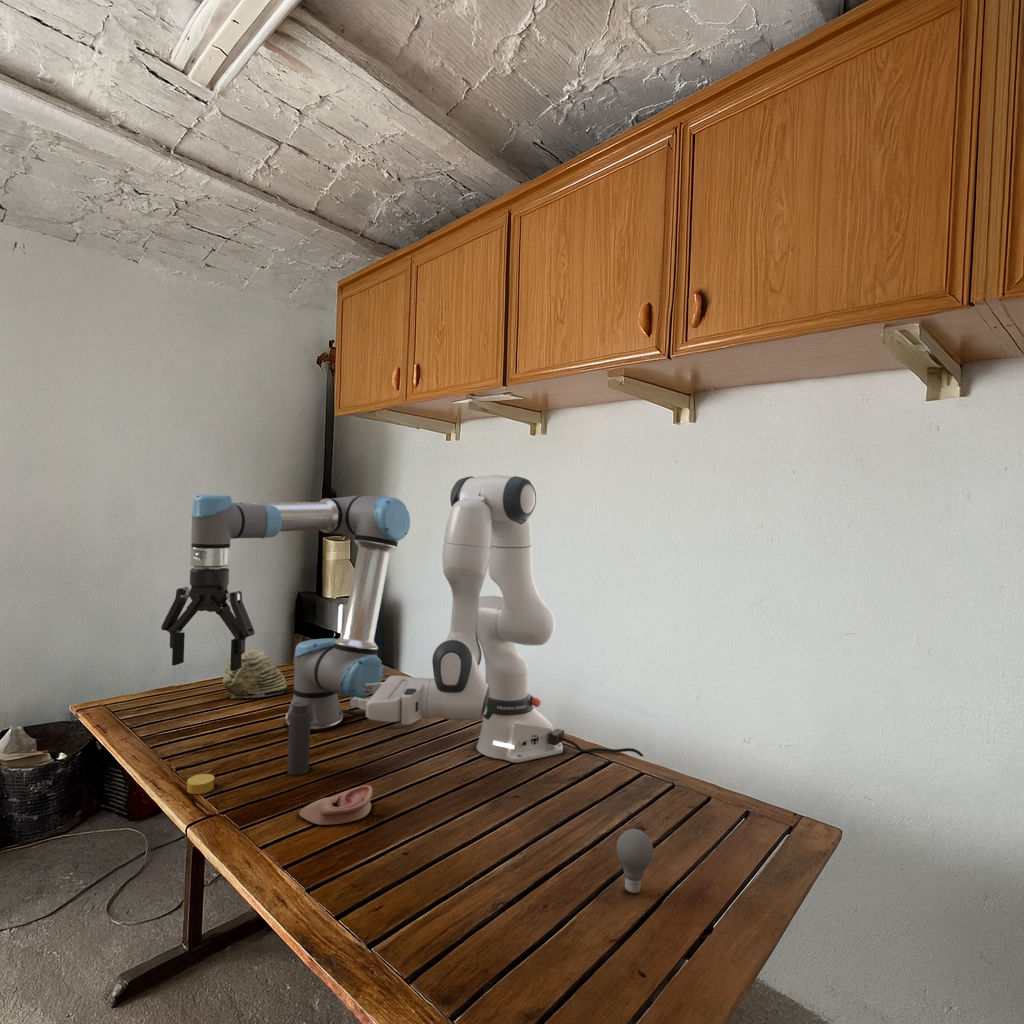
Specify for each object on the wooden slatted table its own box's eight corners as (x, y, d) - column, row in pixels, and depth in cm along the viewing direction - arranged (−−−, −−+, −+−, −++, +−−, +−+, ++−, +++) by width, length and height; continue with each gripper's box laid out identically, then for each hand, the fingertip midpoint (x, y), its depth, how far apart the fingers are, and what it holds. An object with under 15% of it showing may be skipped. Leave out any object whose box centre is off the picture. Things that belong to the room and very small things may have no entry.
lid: (194, 796, 131) (195, 787, 131) (182, 789, 134) (182, 779, 134) (219, 788, 136) (219, 778, 136) (206, 780, 139) (206, 771, 139)
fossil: (218, 695, 195) (220, 647, 195) (278, 685, 208) (279, 640, 207) (228, 703, 189) (230, 653, 188) (289, 692, 201) (290, 645, 201)
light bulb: (610, 879, 108) (613, 822, 108) (644, 879, 109) (647, 822, 109) (619, 902, 102) (622, 840, 102) (655, 901, 103) (658, 840, 103)
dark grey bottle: (293, 765, 148) (296, 699, 148) (312, 768, 148) (315, 701, 147) (283, 774, 144) (285, 705, 143) (302, 776, 143) (305, 707, 143)
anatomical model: (291, 800, 123) (320, 775, 134) (290, 820, 123) (320, 794, 134) (354, 810, 120) (379, 784, 132) (353, 830, 121) (378, 803, 132)
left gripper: (144, 565, 133) (141, 665, 133) (253, 572, 129) (250, 676, 129) (169, 562, 140) (166, 657, 141) (273, 569, 136) (270, 667, 137)
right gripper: (427, 670, 154) (371, 667, 155) (407, 698, 134) (343, 695, 135) (426, 696, 154) (370, 693, 155) (406, 728, 134) (342, 724, 135)
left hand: (206, 666), depth 135 cm, fingers open, 13 cm apart
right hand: (357, 694), depth 145 cm, fingers open, 8 cm apart
